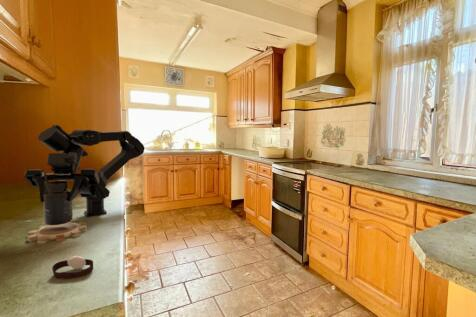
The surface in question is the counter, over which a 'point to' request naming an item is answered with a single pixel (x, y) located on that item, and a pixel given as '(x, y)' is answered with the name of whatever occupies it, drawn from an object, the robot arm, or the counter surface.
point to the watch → (75, 263)
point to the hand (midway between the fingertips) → (55, 201)
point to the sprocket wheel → (56, 232)
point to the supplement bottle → (57, 204)
